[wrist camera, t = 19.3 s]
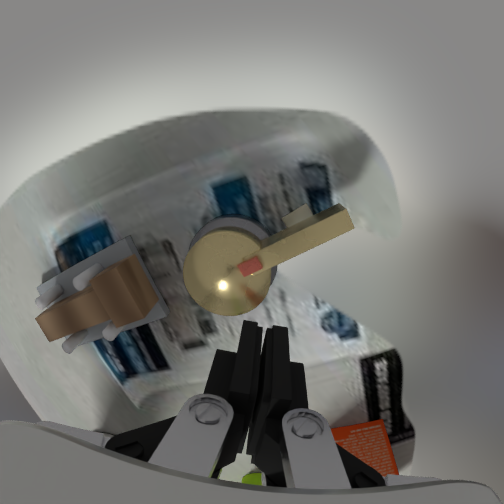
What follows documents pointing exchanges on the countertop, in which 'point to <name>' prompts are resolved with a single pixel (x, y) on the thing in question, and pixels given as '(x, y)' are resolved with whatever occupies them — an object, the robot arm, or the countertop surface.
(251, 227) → the base
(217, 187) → the countertop surface
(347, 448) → the orange cereal box
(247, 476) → the soap dispenser
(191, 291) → the gold lever handle
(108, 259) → the rack
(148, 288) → the tan wooden bar
